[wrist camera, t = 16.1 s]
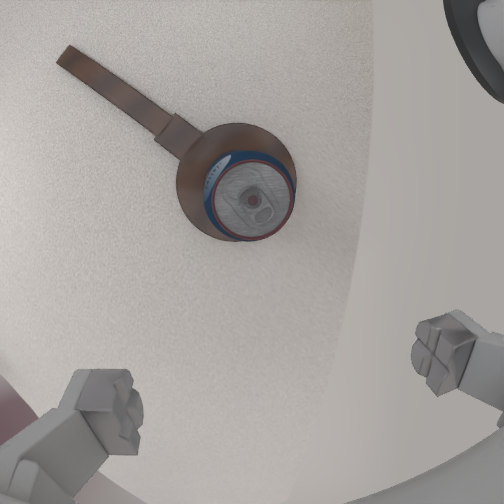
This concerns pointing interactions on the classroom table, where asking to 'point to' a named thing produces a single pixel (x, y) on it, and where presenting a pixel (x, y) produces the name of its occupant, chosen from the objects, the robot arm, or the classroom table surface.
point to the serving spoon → (179, 136)
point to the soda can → (248, 195)
